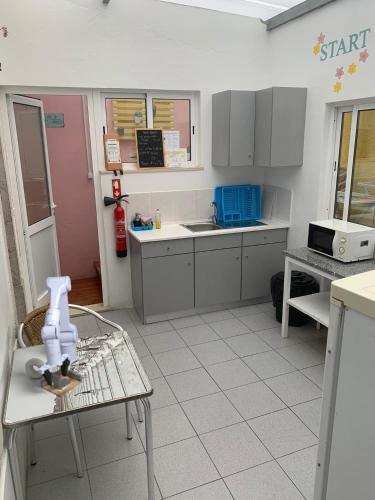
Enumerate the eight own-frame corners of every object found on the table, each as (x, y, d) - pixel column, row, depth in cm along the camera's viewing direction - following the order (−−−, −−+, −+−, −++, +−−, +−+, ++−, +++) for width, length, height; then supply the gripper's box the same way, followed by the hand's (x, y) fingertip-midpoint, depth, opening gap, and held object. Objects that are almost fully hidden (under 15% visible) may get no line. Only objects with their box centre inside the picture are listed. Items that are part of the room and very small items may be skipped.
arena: (41, 387, 167) (40, 380, 166) (64, 374, 176) (63, 367, 176) (60, 396, 160) (59, 389, 160) (82, 382, 170) (81, 374, 169)
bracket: (59, 390, 164) (58, 377, 162) (53, 387, 166) (52, 375, 164) (70, 382, 169) (69, 370, 167) (64, 380, 171) (63, 368, 169)
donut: (25, 379, 173) (22, 359, 171) (29, 375, 176) (26, 355, 174) (45, 381, 172) (43, 361, 169) (49, 376, 175) (46, 357, 172)
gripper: (45, 362, 153) (49, 392, 156) (73, 346, 165) (76, 374, 168) (33, 358, 157) (38, 386, 160) (62, 342, 168) (65, 370, 172)
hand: (57, 380), depth 164 cm, fingers open, 7 cm apart
